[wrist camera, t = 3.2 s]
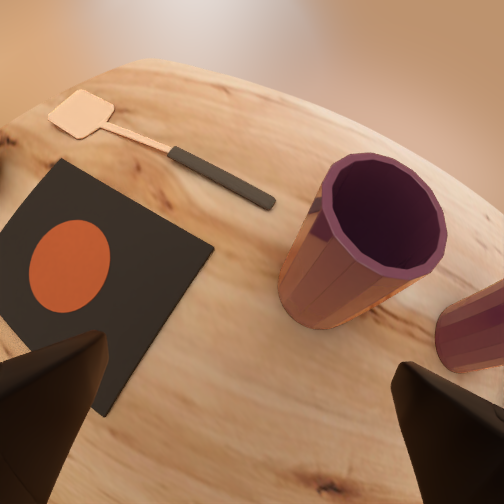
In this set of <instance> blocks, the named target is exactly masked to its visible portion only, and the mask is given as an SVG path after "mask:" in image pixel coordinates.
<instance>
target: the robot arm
mask: <svg viewBox="0 0 504 504" xmlns="http://www.w3.org/2000/svg"><path fill="white" fill-rule="evenodd" d="M108 360H109V353H108V344H107V337H106V334H105V333H104V332H101V331H97V330H91V331H88V332H85V333H82V334H80V335H77V336H74V337H71V338H69V339H66V340H63V341H60V342H57V343H55V344H52V345H49V346H46V347H43V348H40V349H38V350H35V351H32V352H29V353H26V354H23V355H20V356H17V357H15V358H12V359H9V360H6V361H3V363H2V362H0V504H47V502H48V499H49V497H50V494H51V492H52V490H53V487H54V485H55V483H56V480H57V478H58V476H59V473H60V471H61V469H62V466H63V464H64V462H65V460H66V458H67V455H68V453H69V451H70V449H71V447H72V445H73V442H74V440H75V438H76V436H77V434H78V432H79V430H80V428H81V426H82V424H83V422H84V419H85V417H86V415H87V413H88V411H89V409H90V407H91V405H92V403H93V401H94V399H95V396H96V393H97V391H98V388H99V385H100V382H101V380H102V377H103V374H104V372H105V369H106V366H107V364H108ZM391 392H392V396H393V400H394V404H395V409H396V413H397V417H398V422H399V426H400V429H401V432H402V435H403V438H404V441H405V444H406V447H407V450H408V453H409V456H410V460H411V463H412V466H413V469H414V472H415V476H416V479H417V482H418V486H419V489H420V493H421V496H422V500H423V504H504V409H503V408H501V407H499V406H497V405H495V404H492V403H491V402H489V401H487V400H485V399H483V398H481V397H479V396H477V395H475V394H473V393H472V392H470V391H468V390H466V389H464V388H462V387H460V386H458V385H456V384H454V383H452V382H450V381H448V380H446V379H445V378H443V377H441V376H439V375H437V374H435V373H433V372H431V371H429V370H427V369H426V368H424V367H422V366H420V365H418V364H416V363H414V362H411V361H410V362H401V363H400V364H399V366H398V368H397V370H396V373H395V375H394V377H393V380H392V382H391Z"/></svg>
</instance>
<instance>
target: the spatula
mask: <svg viewBox="0 0 504 504" xmlns="http://www.w3.org/2000/svg"><path fill="white" fill-rule="evenodd" d="M113 111H114V105H112V104H111V103H109V102H107V101H105V100H103V99H101V98H99V97H97V96H95V95H93V94H91V93H89V92H87V91H85V90H77V91H76V92H74V93H73V94H72V95H71V96H69V97H68V98H67V99H66V100H65V101H64V102H62V103H61V104H60V105H59V106H58V107H57V108H56V109H54V110H53V111H52V112H51V113H50V114H49V115H48V120H49V121H50V122H52V123H53V124H55V125H56V126H58V127H59V128H61V129H63V130H64V131H66V132H67V133H69V134H70V135H72V136H73V137H75V138H76V139H81V138H85V137H86V136H88V135H89V134H91V133H93V132H94V131H96V130H98V129H99V128H102V129H105V130H108V131H111V132H113V133H116V134H119V135H122V136H124V137H127V138H130V139H132V140H135V141H138V142H140V143H143V144H145V145H148V146H151V147H153V148H156V149H158V150H161V151H163V152H166V153H168V154H167V156H168V157H170V158H171V159H173V160H175V161H177V162H179V163H181V164H183V165H185V166H187V167H189V168H191V169H193V170H195V171H197V172H198V173H200V174H202V175H204V176H206V177H208V178H210V179H212V180H214V181H215V182H217V183H219V184H221V185H223V186H225V187H227V188H228V189H230V190H232V191H234V192H236V193H238V194H240V195H241V196H243V197H245V198H247V199H249V200H250V201H252V202H254V203H256V204H258V205H259V206H261V207H263V208H265V209H267V210H270V209H271V208H272V207H273V205H274V203H275V201H276V200H275V198H274V197H272V196H271V195H269V194H267V193H265V192H263V191H262V190H260V189H258V188H256V187H254V186H252V185H250V184H249V183H247V182H245V181H243V180H241V179H239V178H237V177H235V176H234V175H232V174H230V173H228V172H226V171H224V170H222V169H220V168H218V167H216V166H214V165H212V164H210V163H209V162H207V161H205V160H203V159H201V158H199V157H197V156H195V155H193V154H191V153H189V152H187V151H185V150H183V149H181V148H179V147H177V146H174V147H173V148H171V147H169V146H167V145H164V144H162V143H159V142H157V141H155V140H152V139H150V138H147V137H145V136H142V135H140V134H137V133H135V132H132V131H130V130H127V129H125V128H122V127H119V126H117V125H114V124H112V123H109V122H107V121H108V119H109V118H110V116H111V115H112V113H113Z"/></svg>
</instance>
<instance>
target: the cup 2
mask: <svg viewBox="0 0 504 504" xmlns="http://www.w3.org/2000/svg"><path fill="white" fill-rule="evenodd" d="M435 343H436V349H437V352H438V355H439V358H440V360H441V361H442V363H443V364H444V366H445V367H446V368H447V369H449V370H450V371H452V372H455V373H465V372H473V371H478V370H484V369H489V368H494V367H499V366H504V278H503V279H502V280H500V281H498V282H496V283H494V284H492V285H490V286H488V287H486V288H485V289H483V290H481V291H479V292H477V293H475V294H473V295H471V296H469V297H466V298H464V299H462V300H460V301H458V302H456V303H454V304H452V305H450V306H448V307H447V308H446V309H445V310H444V311H443V312H442V314H441V315H440V317H439V319H438V322H437V326H436V331H435Z"/></svg>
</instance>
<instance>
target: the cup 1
mask: <svg viewBox="0 0 504 504" xmlns="http://www.w3.org/2000/svg"><path fill="white" fill-rule="evenodd" d="M446 241H447V228H446V223H445V218H444V213H443V210H442V208H441V206H440V204H439V202H438V201H437V199H436V197H435V195H434V193H433V191H432V190H431V188H430V187H429V186H428V185H427V184H426V183H425V182H424V181H423V180H422V179H421V178H420V177H419V176H418V175H417V174H416V173H415V172H414V171H413V170H411V169H410V168H408V167H407V166H405V165H403V164H402V163H400V162H398V161H397V160H395V159H393V158H390V157H386V156H383V155H379V154H375V153H357V154H350V155H347V156H346V157H344V158H342V159H341V160H339V161H337V162H335V163H334V164H332V165H331V167H330V169H329V171H328V172H327V174H326V176H325V178H324V180H323V182H322V184H321V186H320V188H319V190H318V192H317V194H316V197H315V199H314V201H313V203H312V205H311V207H310V210H309V212H308V214H307V216H306V218H305V220H304V222H303V224H302V227H301V229H300V231H299V233H298V235H297V237H296V239H295V241H294V243H293V246H292V248H291V250H290V252H289V254H288V256H287V258H286V260H285V262H284V264H283V266H282V268H281V270H280V275H279V279H278V293H279V297H280V300H281V303H282V305H283V307H284V309H285V310H286V311H287V313H288V314H289V315H290V316H291V317H292V318H293V319H294V320H295V321H297V322H298V323H300V324H301V325H304V326H306V327H309V328H312V329H318V330H324V329H331V328H334V327H337V326H339V325H342V324H344V323H346V322H348V321H350V320H352V319H353V318H355V317H357V316H359V315H361V314H363V313H364V312H366V311H368V310H370V309H371V308H373V307H375V306H377V305H379V304H380V303H382V302H384V301H385V300H387V299H389V298H391V297H392V296H394V295H396V294H397V293H399V292H401V291H402V290H404V289H406V288H407V287H409V286H410V285H412V284H414V283H415V282H417V281H418V280H420V279H422V278H423V277H425V276H426V275H428V274H429V273H431V272H432V270H433V269H434V268H435V267H436V265H437V264H438V263H439V262H440V260H441V259H442V258H443V256H444V252H445V246H446Z"/></svg>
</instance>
